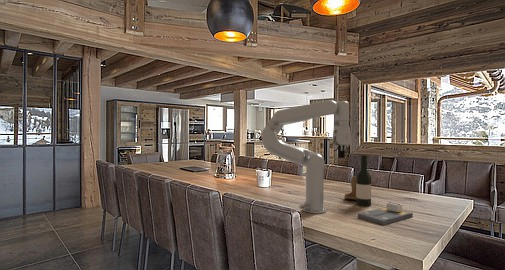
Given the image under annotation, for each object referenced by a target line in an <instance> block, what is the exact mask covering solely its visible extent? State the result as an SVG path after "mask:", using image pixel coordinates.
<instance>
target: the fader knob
mask: <svg viewBox="0 0 505 270" xmlns="http://www.w3.org/2000/svg"><path fill="white" fill-rule="evenodd" d="M386 207H387V210H391V211H395V212H400V211H402V210H403V204H402V203H399V202H398V203H397V202H394V201H393V202H392V201H388V202H386Z"/></svg>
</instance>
